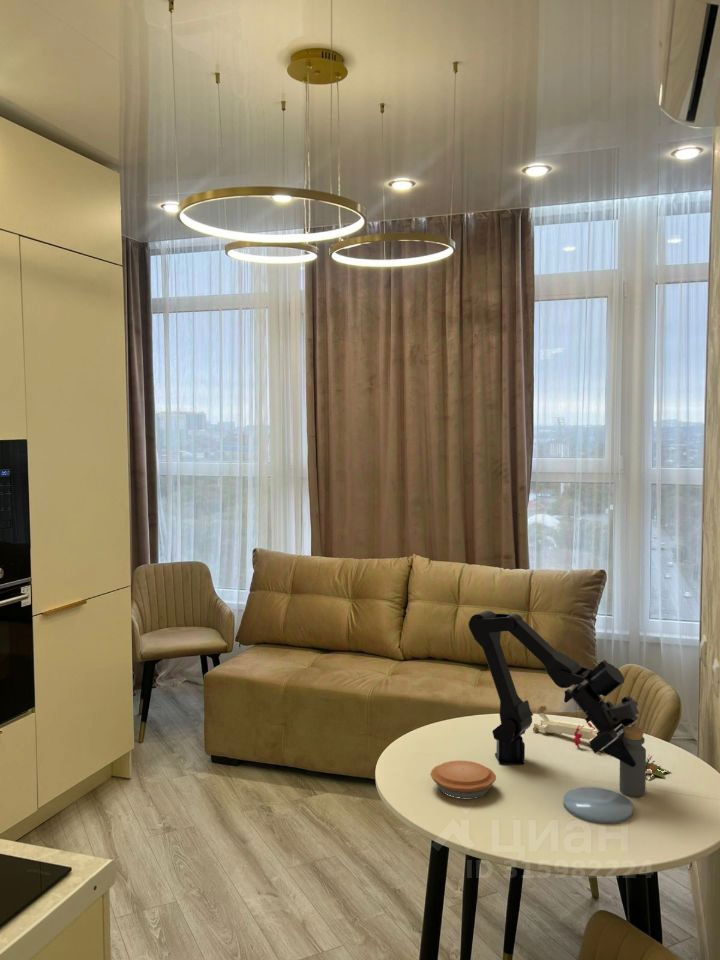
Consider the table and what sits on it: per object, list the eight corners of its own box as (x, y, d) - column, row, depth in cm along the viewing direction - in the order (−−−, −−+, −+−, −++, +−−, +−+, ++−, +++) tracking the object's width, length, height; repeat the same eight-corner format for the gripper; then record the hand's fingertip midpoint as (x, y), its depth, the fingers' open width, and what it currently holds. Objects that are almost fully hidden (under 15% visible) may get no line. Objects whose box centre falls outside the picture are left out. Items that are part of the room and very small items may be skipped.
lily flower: (680, 775, 199) (681, 757, 199) (650, 786, 193) (651, 768, 193) (640, 759, 209) (640, 742, 209) (610, 769, 203) (610, 752, 203)
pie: (450, 770, 201) (450, 751, 201) (506, 786, 192) (506, 765, 192) (418, 792, 189) (418, 771, 189) (477, 809, 180) (477, 788, 180)
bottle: (645, 788, 191) (646, 727, 190) (645, 798, 185) (646, 735, 185) (619, 785, 193) (620, 724, 192) (619, 795, 187) (620, 732, 186)
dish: (574, 824, 173) (575, 817, 173) (555, 793, 188) (555, 787, 188) (642, 822, 173) (643, 816, 173) (618, 792, 188) (618, 786, 188)
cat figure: (529, 739, 227) (610, 756, 209) (527, 708, 227) (607, 723, 209) (548, 730, 233) (628, 746, 216) (546, 700, 234) (626, 714, 216)
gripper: (603, 697, 183) (651, 756, 177) (630, 678, 198) (675, 732, 192) (570, 724, 188) (615, 782, 182) (598, 703, 203) (641, 756, 197)
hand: (638, 761), depth 188 cm, fingers closed on bottle, 6 cm apart
